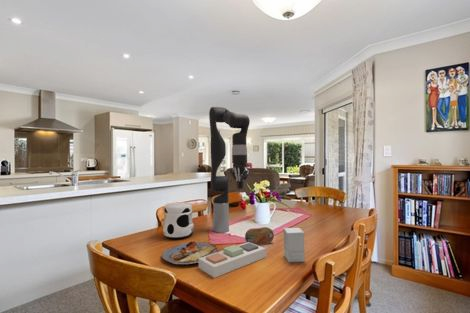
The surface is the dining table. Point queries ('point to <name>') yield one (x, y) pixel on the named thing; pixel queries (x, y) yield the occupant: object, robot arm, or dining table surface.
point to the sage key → (233, 251)
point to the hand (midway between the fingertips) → (240, 188)
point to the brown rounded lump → (259, 236)
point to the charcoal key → (249, 247)
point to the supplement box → (294, 245)
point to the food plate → (188, 252)
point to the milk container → (178, 220)
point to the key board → (231, 261)
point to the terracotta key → (216, 258)
